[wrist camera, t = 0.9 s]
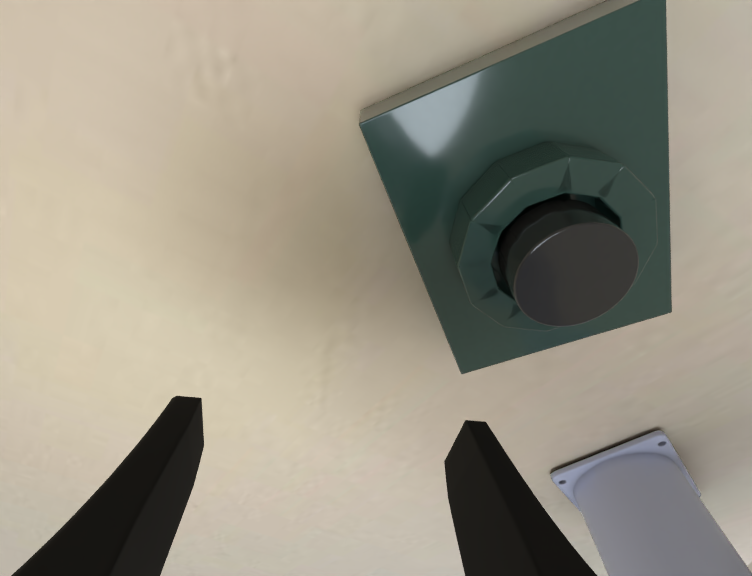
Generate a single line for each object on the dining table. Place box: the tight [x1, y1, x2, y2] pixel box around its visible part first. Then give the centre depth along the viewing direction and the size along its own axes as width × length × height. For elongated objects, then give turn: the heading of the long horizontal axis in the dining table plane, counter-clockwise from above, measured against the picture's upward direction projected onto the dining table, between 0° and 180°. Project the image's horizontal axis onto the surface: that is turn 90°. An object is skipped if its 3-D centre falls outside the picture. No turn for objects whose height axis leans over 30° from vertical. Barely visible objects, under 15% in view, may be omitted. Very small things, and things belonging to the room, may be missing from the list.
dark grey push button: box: [498, 199, 639, 327], centre depth 14 cm, size 4×4×2 cm
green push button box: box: [359, 0, 672, 374], centre depth 17 cm, size 13×10×4 cm
